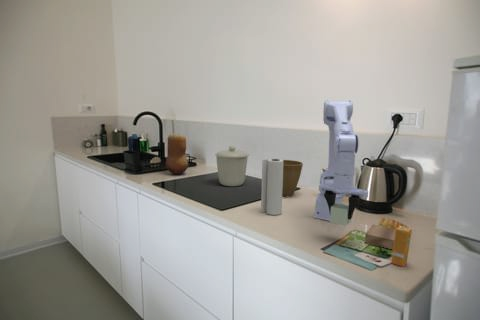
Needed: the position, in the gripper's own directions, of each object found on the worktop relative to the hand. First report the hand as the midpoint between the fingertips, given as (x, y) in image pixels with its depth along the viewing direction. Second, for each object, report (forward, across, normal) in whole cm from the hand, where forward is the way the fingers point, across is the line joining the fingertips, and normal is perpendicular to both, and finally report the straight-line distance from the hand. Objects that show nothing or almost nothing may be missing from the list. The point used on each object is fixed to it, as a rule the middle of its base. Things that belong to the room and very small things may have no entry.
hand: (340, 216), depth 98 cm
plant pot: (+8, -38, +38) cm, 54 cm away
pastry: (+8, +12, +20) cm, 25 cm away
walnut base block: (+8, +12, +8) cm, 16 cm away
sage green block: (+2, 0, 0) cm, 2 cm away
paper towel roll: (+8, -30, +11) cm, 33 cm away
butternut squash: (+8, -113, +39) cm, 120 cm away
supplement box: (+8, +18, -5) cm, 20 cm away
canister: (+8, -71, +39) cm, 81 cm away
